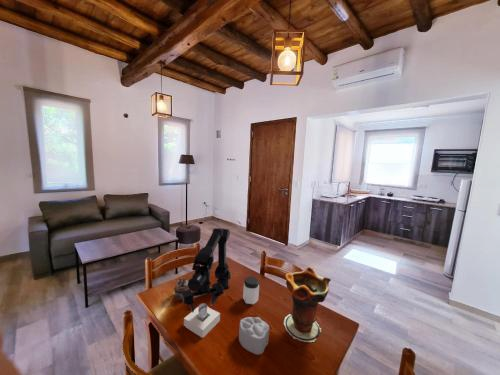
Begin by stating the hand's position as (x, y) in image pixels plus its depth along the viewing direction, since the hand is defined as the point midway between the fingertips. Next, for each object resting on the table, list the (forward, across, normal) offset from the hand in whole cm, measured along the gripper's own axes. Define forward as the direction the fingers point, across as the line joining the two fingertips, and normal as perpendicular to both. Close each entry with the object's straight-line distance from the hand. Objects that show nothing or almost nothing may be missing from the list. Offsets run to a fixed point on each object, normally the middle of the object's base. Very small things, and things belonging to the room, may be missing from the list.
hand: (202, 309), depth 97 cm
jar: (+8, -30, -5) cm, 32 cm away
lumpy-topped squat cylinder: (+8, -17, +19) cm, 27 cm away
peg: (+8, 0, 0) cm, 8 cm away
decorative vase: (+8, -43, +23) cm, 49 cm away
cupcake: (+8, +4, -24) cm, 26 cm away
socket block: (+8, 0, 0) cm, 8 cm away
